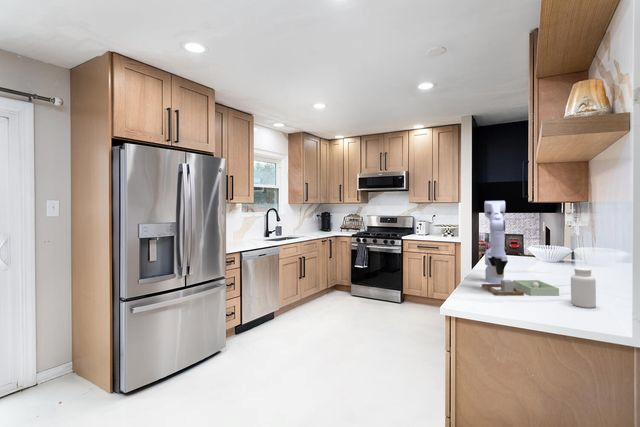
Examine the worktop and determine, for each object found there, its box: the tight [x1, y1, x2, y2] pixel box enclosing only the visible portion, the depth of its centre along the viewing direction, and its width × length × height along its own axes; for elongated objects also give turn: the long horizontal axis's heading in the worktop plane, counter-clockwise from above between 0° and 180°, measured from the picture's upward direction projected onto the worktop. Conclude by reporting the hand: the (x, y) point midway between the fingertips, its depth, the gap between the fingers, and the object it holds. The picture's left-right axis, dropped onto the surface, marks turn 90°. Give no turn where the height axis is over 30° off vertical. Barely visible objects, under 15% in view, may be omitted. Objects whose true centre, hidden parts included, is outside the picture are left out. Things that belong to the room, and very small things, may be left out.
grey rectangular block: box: [491, 266, 505, 279], centre depth 156 cm, size 4×4×5 cm
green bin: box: [512, 279, 560, 297], centre depth 155 cm, size 16×12×4 cm
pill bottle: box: [570, 267, 597, 309], centre depth 134 cm, size 8×8×15 cm
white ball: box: [532, 282, 539, 288], centre depth 160 cm, size 3×3×3 cm
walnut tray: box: [481, 283, 525, 297], centre depth 156 cm, size 16×12×2 cm
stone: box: [500, 279, 514, 292], centre depth 156 cm, size 4×4×5 cm
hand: (497, 273), depth 156 cm, fingers closed on grey rectangular block, 4 cm apart
